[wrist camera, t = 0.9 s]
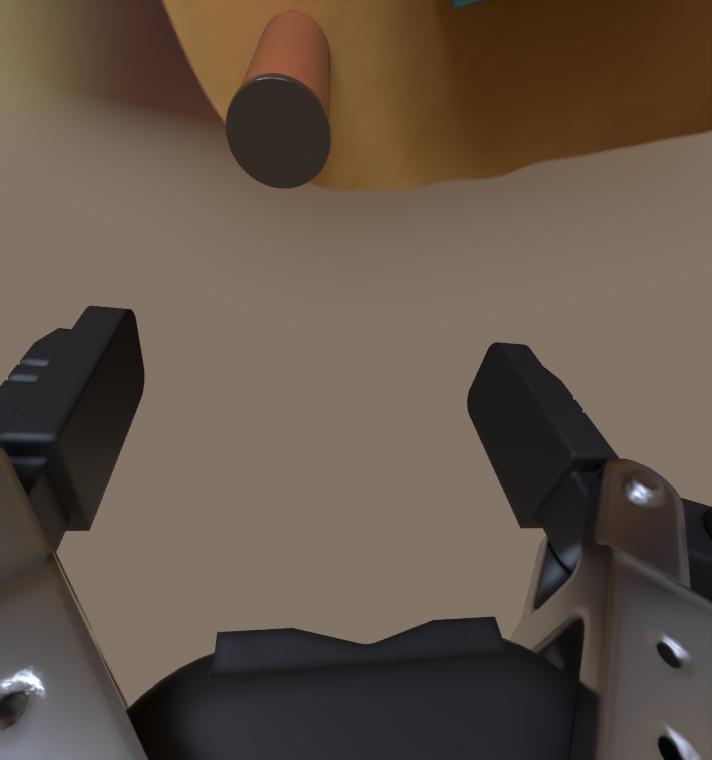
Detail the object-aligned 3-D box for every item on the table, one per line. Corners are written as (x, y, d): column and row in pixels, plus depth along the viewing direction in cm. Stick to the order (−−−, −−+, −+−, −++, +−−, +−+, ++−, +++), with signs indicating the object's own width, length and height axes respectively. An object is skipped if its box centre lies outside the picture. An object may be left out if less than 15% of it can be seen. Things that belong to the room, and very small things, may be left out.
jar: (246, 20, 24) (206, 93, 17) (320, -2, 24) (313, 63, 16) (273, 105, 28) (250, 198, 20) (339, 88, 27) (341, 176, 20)
